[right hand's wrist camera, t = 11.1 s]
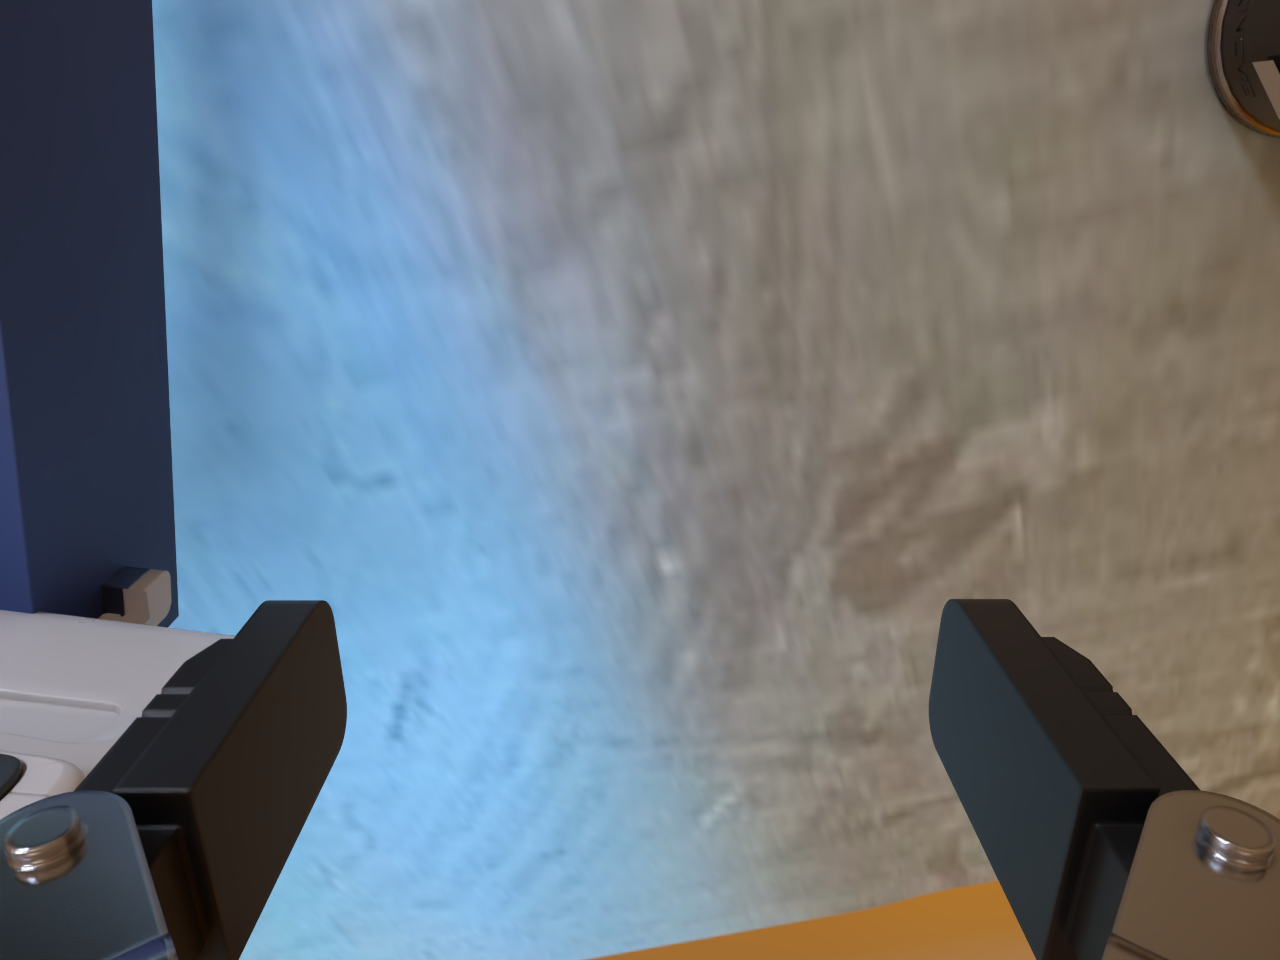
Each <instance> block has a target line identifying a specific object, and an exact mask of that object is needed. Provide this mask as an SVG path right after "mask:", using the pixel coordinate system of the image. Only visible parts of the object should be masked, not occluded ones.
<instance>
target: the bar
mask: <svg viewBox="0 0 1280 960" xmlns="http://www.w3.org/2000/svg"><path fill="white" fill-rule="evenodd" d="M124 566H128V567H137V568H147V569H155V570H166V571H168V572H169V574H170V578H171V606H170V610H169V612H168V614H167V616H166V617H165V618H164V619H163V620H162V621H161V622H160V623H159V624H158V625H157V626H159V627H167V628H168V627H169V625H170V624H171V623H172V622H173V621H174V620H175V619H176V618H177V617H178V615H179V614H178V591H177V568H176V545H175V522H174V500H173V477H172V454H171V431H170V408H169V385H168V362H167V339H166V316H165V293H164V270H163V247H162V224H161V201H160V178H159V155H158V132H157V109H156V86H155V63H154V40H153V18H152V0H0V610H5V611H13V612H21V613H30V614H34V613H36V612H47V613H55V614H63V615H71V616H79V617H87V618H95V619H98V618H99V617H100V616H101V615H103V611H104V610H105V608H104V607H103V603H102V590H101V585H102V584H104V583H105V582H106V581H107V580H108V579H109V578H111V577H112V576H113V575H115V574H118V571H119V570H120V569H121V568H123V567H124Z"/></svg>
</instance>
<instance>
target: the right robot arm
mask: <svg viewBox="0 0 1280 960" xmlns="http://www.w3.org/2000/svg"><path fill="white" fill-rule="evenodd" d="M1208 62H1209V68H1210V73H1211V77H1212V80H1213V83H1214V86H1215V88H1216V91H1217V93H1218V95H1219V97H1220V99H1221V100H1222V102H1223V103H1224V105H1225V106H1226V108H1227V109H1228V110H1229V111H1230V112H1231V113H1232V115H1233V116H1234V117H1235V118H1237V119H1238V120H1239V121H1240V122H1241V123H1243V124H1244V125H1246V126H1247V127H1249V128H1251V129H1253V130H1255V131H1257V132H1259V133H1262V134H1265V135H1268V136H1273V137H1278V138H1280V0H1216V1H1215V4H1214V7H1213V11H1212V15H1211V20H1210V25H1209V33H1208ZM161 690H162V691H161V694H157V695H156V696H155V697H154V698H153V699H152V700H151V702H150V703H149V704H148V705H147V706H146V707H145V709H144V710H143V711H142V717H137V718H136V719H135V720H134V721H133V723H132V724H131V725H130V726H129V727H128V728H127V730H126V731H125V732H124V733H123V734H122V735H121V737H120V738H119V739H118V740H117V741H116V742H115V744H114V745H113V746H112V747H111V748H110V749H109V751H108V752H107V753H106V754H105V755H104V756H103V758H102V759H101V760H100V761H99V762H98V763H97V765H96V766H95V767H94V768H93V769H92V770H91V772H90V773H89V774H88V775H87V776H86V777H85V779H84V780H83V781H82V782H81V783H80V784H79V786H78V787H77V788H76V789H75V790H74V791H73V792H67V793H62V794H58V795H54V796H51V797H48V798H44V799H41V800H38V801H36V802H34V803H31V804H29V805H26V806H24V807H22V808H20V809H18V810H16V811H14V812H12V813H10V814H9V815H7V816H5V817H4V818H2V819H0V960H239V958H240V956H241V954H242V952H243V949H244V947H245V945H246V943H247V941H248V939H249V937H250V935H251V933H252V931H253V929H254V927H255V925H256V923H257V921H258V919H259V916H260V914H261V912H262V910H263V908H264V906H265V904H266V902H267V900H268V898H269V896H270V894H271V892H272V890H273V888H274V885H275V883H276V881H277V879H278V877H279V875H280V873H281V871H282V869H283V867H284V865H285V863H286V861H287V859H288V857H289V854H290V852H291V850H292V848H293V846H294V844H295V842H296V840H297V838H298V836H299V834H300V832H301V830H302V828H303V826H304V824H305V821H306V819H307V817H308V815H309V813H310V811H311V809H312V807H313V805H314V803H315V801H316V799H317V797H318V795H319V793H320V790H321V788H322V786H323V784H324V782H325V780H326V778H327V776H328V774H329V772H330V770H331V768H332V766H333V764H334V762H335V759H336V757H337V755H338V753H339V751H340V749H341V746H342V743H343V739H344V734H345V729H346V719H347V703H346V695H345V688H344V682H343V675H342V668H341V662H340V655H339V648H338V642H337V635H336V628H335V622H334V616H333V612H332V609H331V607H330V605H329V604H328V603H327V602H326V601H265V602H263V603H262V604H261V605H260V606H259V607H258V609H257V610H256V611H255V612H254V614H253V615H252V616H251V617H250V619H249V620H248V621H247V622H246V624H245V625H244V626H243V627H242V629H241V630H240V631H239V632H238V634H237V635H236V636H235V637H234V639H219V640H218V641H216V642H215V643H213V644H212V645H210V646H209V647H207V648H205V649H204V650H202V651H201V652H199V653H198V654H196V655H194V656H193V657H191V658H190V659H188V660H187V661H185V662H184V663H183V664H182V665H181V667H180V668H179V669H178V670H177V671H176V672H175V674H174V675H173V676H172V677H171V678H170V679H169V681H168V682H167V683H166V684H165V685H164V686H163V688H162V689H161ZM929 722H930V729H931V735H932V739H933V742H934V745H935V748H936V750H937V753H938V755H939V757H940V759H941V761H942V763H943V765H944V767H945V769H946V771H947V773H948V776H949V778H950V780H951V782H952V784H953V786H954V788H955V790H956V792H957V794H958V796H959V799H960V801H961V803H962V805H963V807H964V809H965V811H966V813H967V815H968V817H969V819H970V822H971V824H972V826H973V828H974V830H975V832H976V834H977V836H978V838H979V840H980V842H981V845H982V847H983V849H984V851H985V853H986V855H987V857H988V859H989V861H990V863H991V865H992V868H993V870H994V872H995V874H996V876H997V878H998V880H999V882H1000V884H1001V886H1002V888H1003V891H1004V893H1005V895H1006V897H1007V899H1008V901H1009V903H1010V905H1011V907H1012V909H1013V911H1014V914H1015V916H1016V918H1017V920H1018V922H1019V924H1020V926H1021V928H1022V930H1023V932H1024V934H1025V937H1026V939H1027V941H1028V943H1029V945H1030V947H1031V949H1032V951H1033V953H1034V955H1035V957H1036V960H1280V819H1278V818H1276V817H1275V816H1273V815H1271V814H1270V813H1268V812H1266V811H1264V810H1262V809H1260V808H1258V807H1256V806H1254V805H1251V804H1249V803H1246V802H1244V801H1242V800H1239V799H1236V798H1232V797H1229V796H1226V795H1222V794H1218V793H1213V792H1207V791H1201V790H1200V789H1199V788H1198V787H1197V786H1196V784H1195V783H1194V782H1193V781H1192V780H1191V779H1190V777H1189V776H1188V775H1187V774H1186V773H1185V772H1184V770H1183V769H1182V768H1181V767H1180V766H1179V764H1178V763H1177V762H1176V761H1175V760H1174V759H1173V757H1172V756H1171V755H1170V754H1169V753H1168V751H1167V750H1166V749H1165V748H1164V747H1163V746H1162V744H1161V743H1160V742H1159V741H1158V740H1157V739H1156V737H1155V736H1154V735H1153V734H1152V733H1151V731H1150V730H1149V729H1148V728H1147V727H1146V726H1145V724H1144V723H1143V722H1142V721H1141V720H1140V719H1139V717H1138V716H1137V715H1132V709H1131V708H1130V707H1129V706H1128V704H1127V703H1126V702H1125V701H1124V700H1123V699H1122V697H1121V696H1120V695H1119V694H1118V693H1117V692H1113V687H1112V686H1111V684H1110V683H1109V682H1108V681H1107V680H1106V679H1105V677H1104V676H1103V675H1102V674H1101V673H1100V671H1099V670H1098V669H1097V668H1096V667H1095V666H1094V664H1093V663H1092V662H1091V661H1090V660H1089V659H1087V658H1086V657H1084V656H1083V655H1081V654H1080V653H1078V652H1076V651H1075V650H1073V649H1072V648H1070V647H1069V646H1067V645H1066V644H1064V643H1062V642H1061V641H1059V640H1058V639H1056V638H1055V637H1041V636H1040V635H1039V634H1038V633H1037V631H1036V630H1035V629H1034V628H1033V626H1032V625H1031V624H1030V622H1029V621H1028V620H1027V619H1026V617H1025V616H1024V615H1023V614H1022V612H1021V611H1020V610H1019V609H1018V607H1017V606H1016V605H1015V604H1014V603H1013V602H1012V601H1011V600H1009V599H950V600H949V601H947V603H946V604H945V606H944V609H943V612H942V617H941V623H940V630H939V637H938V643H937V650H936V657H935V664H934V670H933V677H932V684H931V691H930V698H929Z"/></svg>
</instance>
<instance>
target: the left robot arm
mask: <svg viewBox="0 0 1280 960" xmlns="http://www.w3.org/2000/svg"><path fill="white" fill-rule="evenodd" d="M101 590H102V603H103V607H104V608H105V610H104V611H103V615H101V616H100V617H99V618H98V619H95V618H87V617H79V616H71V615H63V614H55V613H47V612H36V613H34V614H30V613H21V612H13V611H5V610H0V819H2V818H4V817H5V816H7V815H9V814H10V813H12V812H14V811H16V810H18V809H20V808H22V807H24V806H26V805H29V804H31V803H34V802H36V801H38V800H41V799H44V798H48V797H51V796H54V795H58V794H62V793H67V792H73V791H74V790H75V789H76V788H77V787H78V786H79V784H80V783H81V782H82V781H83V780H84V779H85V777H86V776H87V775H88V774H89V773H90V772H91V770H92V769H93V768H94V767H95V766H96V765H97V763H98V762H99V761H100V760H101V759H102V758H103V756H104V755H105V754H106V753H107V752H108V751H109V749H110V748H111V747H112V746H113V745H114V744H115V742H116V741H117V740H118V739H119V738H120V737H121V735H122V734H123V733H124V732H125V731H126V730H127V728H128V727H129V726H130V725H131V724H132V723H133V721H134V720H135V719H136V718H137V717H142V711H143V710H144V709H145V707H146V706H147V705H148V704H149V703H150V702H151V700H152V699H153V698H154V697H155V696H156V695H157V694H161V691H162V690H161V689H162V688H163V686H164V685H165V684H166V683H167V682H168V681H169V679H170V678H171V677H172V676H173V675H174V674H175V672H176V671H177V670H178V669H179V668H180V667H181V665H182V664H183V663H184V662H185V661H187V660H188V659H190V658H191V657H193V656H194V655H196V654H198V653H199V652H201V651H202V650H204V649H205V648H207V647H209V646H210V645H212V644H213V643H215V642H216V641H218V640H219V639H234V637H235V636H231V635H222V634H214V633H206V632H198V631H190V630H183V629H175V628H167V627H159V626H157V625H158V624H159V623H160V622H161V621H162V620H163V619H164V618H165V617H166V616H167V614H168V612H169V610H170V606H171V578H170V574H169V572H168V571H166V570H155V569H147V568H137V567H128V566H124V567H123V568H121V569H120V570H119V571H118V574H115V575H113V576H112V577H111V578H109V579H108V580H107V581H106V582H105V583H104V584H102V585H101Z"/></svg>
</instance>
